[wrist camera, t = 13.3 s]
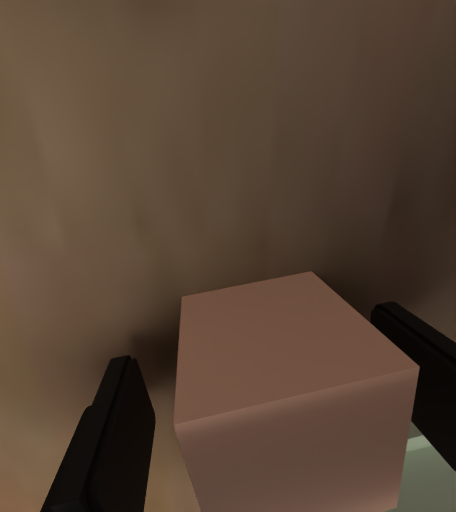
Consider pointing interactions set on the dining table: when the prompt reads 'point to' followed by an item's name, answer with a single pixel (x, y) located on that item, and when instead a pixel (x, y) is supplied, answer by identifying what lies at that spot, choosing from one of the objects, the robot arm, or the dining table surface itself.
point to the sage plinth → (425, 478)
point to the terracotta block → (290, 400)
